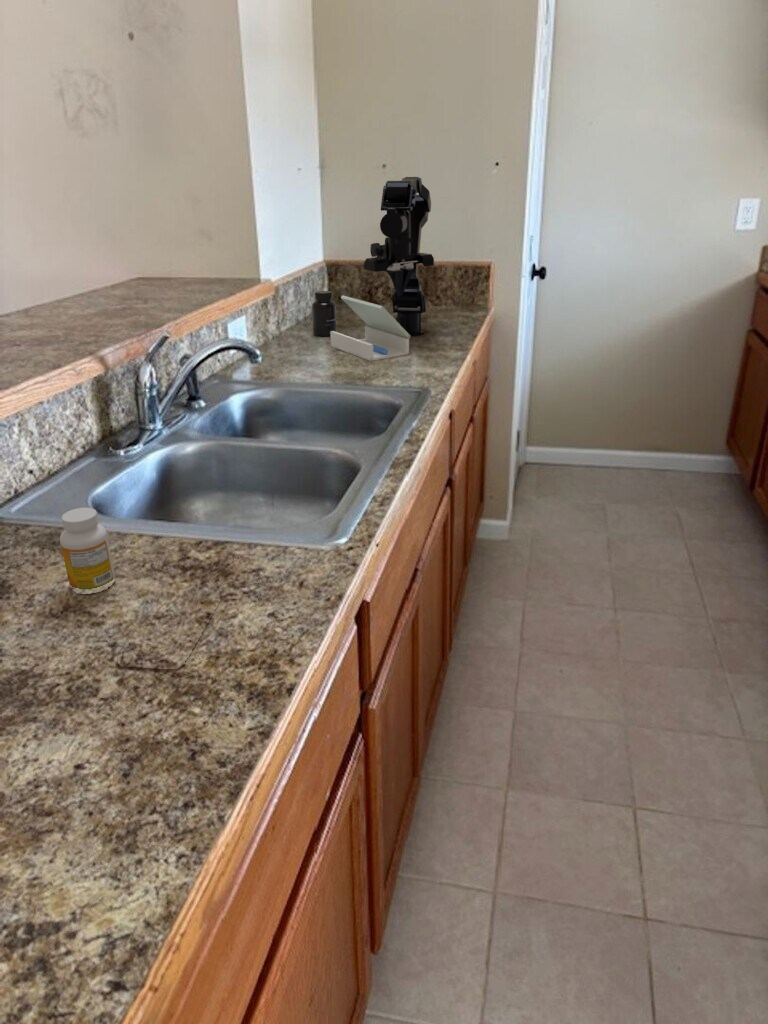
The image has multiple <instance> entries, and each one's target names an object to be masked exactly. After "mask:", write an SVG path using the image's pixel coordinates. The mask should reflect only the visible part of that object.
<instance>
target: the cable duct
mask: <svg viewBox="0 0 768 1024" xmlns="http://www.w3.org/2000/svg"><path fill="white" fill-rule="evenodd" d="M329 337H330V346H331V347H332V348H335V349H338V350H340V351H342V352H345V353H348V354H351V355H354V356H356V357H359V358H360V359H363V360H366V361H369V362H372V361H378V360H379V361H380V360H384V359H389V358H395V357H399V356H406V355H409V354H410V339H409V338H406V337H403V336H400V335H396V334H393V333H390V332H387V331H384V330H380V329H377V328H374V327H371V326H368V325H365V326H364V338H360V339H358V338H354V337H353V336H349V335H346V334H343V333H341V332H338V331H336V332H335V331H330V336H329Z"/></svg>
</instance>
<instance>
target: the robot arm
mask: <svg viewBox="0 0 768 1024" xmlns="http://www.w3.org/2000/svg"><path fill="white" fill-rule="evenodd" d="M431 210H432V199H431V192H430V190H429V189H428V188H427V187H426V186H425V185H424V184H423V182H422V178H421V177H418V176H405V177H402V178H401V180H387V181H386V182H385V185H383V188H382V196H381V203H380V211H382V212H383V211H386V214H385V215H383V216H382V218H381V220H380V223H379V229H380V231H381V233H382V235H383V236H385V239H384V244H380V242H372V243H371V244H370V251H369V252H370V256H371V257H367V258H365V260H364V261H363V269H364V270H366V271H370V272H377V273H378V272H385V273H387V274H388V276H389V277H390V279H391V282H392V285H393V287H394V290H393V291H392V294H391V297H392V298H391V299H392V300H391V301H392V312H393V314H395V313H396V316H397V317H396V318H395V320H396V321H397V322H398V323H399V324H400V325H401V326H402V327H403V328H404V329H405V330H406V332H407V333H408V334H409V335H410V336H416V335H423V334H425V331H422V314H424V313H426V312H427V303H426V296H425V295H424V291H423V288H422V285H421V282H420V281H419V279H418V274H419V264H422V265H423V267H432V266H435V257H434V256H433V255H432V253H424V252H420V249H421V237H422V229H423V228H424V227H425V224H426V223H427V222H428V221H429V214H430V213H431Z"/></svg>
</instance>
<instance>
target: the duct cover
mask: <svg viewBox="0 0 768 1024" xmlns="http://www.w3.org/2000/svg"><path fill="white" fill-rule="evenodd" d="M340 298H341V300H342V301H343V302H344V303H345V304H346V305H347V306H348V307H349V308H350V309H352V310H353V312H354V313H355V314H356V315H357V316H358V317H359V318H360V319H361V320H362V321H363V322H364V323H365V324H366V326H370V327H373V328H376V329H380V330H383V331H386V332H389V333H392V334H396V335H399V336H402V337H405V338H408V339H409V340H410V339H411V336H410V335H409V334H408V333H407V332H406V330H405V329H404V328H403V327H402V326H401V325H400V324H399V323H398V322H397V321H396V318H395V317H393V316H392V315H391V313H389V311H388V310H387V309H386V308H385V307H384V306H383V305H379V304H376V303H371V302H369V301H366V300H362V299H359V298H355V297H350V296H346V295H341V297H340Z"/></svg>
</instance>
